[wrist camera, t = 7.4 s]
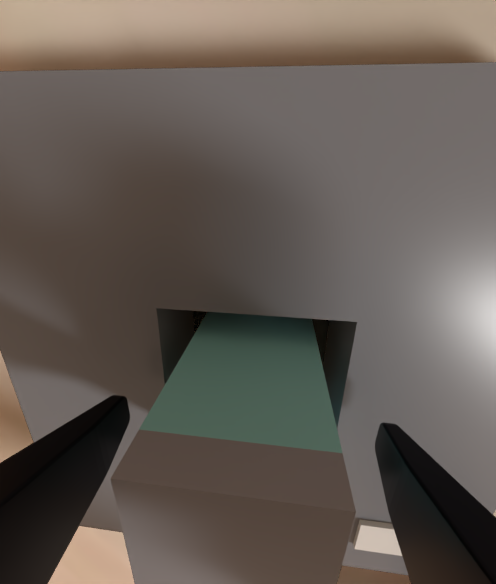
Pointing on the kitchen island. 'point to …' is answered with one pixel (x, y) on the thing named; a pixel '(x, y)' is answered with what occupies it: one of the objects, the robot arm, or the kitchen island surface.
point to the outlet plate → (259, 248)
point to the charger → (238, 463)
